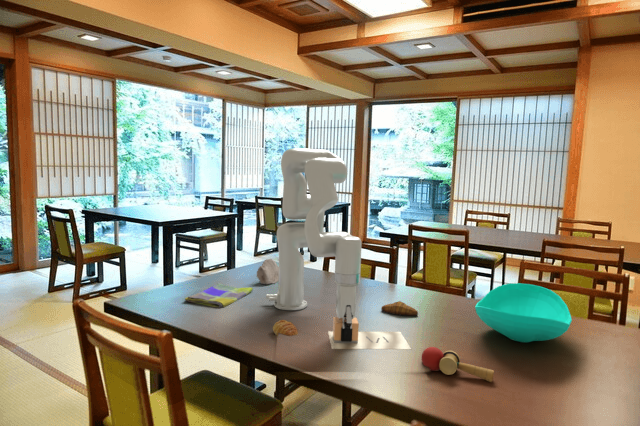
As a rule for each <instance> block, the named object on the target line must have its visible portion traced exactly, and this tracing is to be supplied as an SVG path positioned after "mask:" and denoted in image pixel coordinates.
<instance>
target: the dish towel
mask: <svg viewBox="0 0 640 426" xmlns="http://www.w3.org/2000/svg"><path fill="white" fill-rule="evenodd" d="M252 291H253V287H249V286H248V287H234V286H230V285H226V284H222V283H220V282H219V283H216V284H214V285H212V286H210V287H208V288H207V289H204V290H202V291H200V292H197V293H195V294H193V295H190V296H187V297H185V298H184V301H186V302H188V303H193V304H198V305H203V306H207V307H208V306H209V307H213V308H218V309H220V308H221V309H222V308H225V307H227V306H229V305H232V304H233V303H236V302H238V301H240V300H241V299H243V298H244V297H246V296H248V295H249V294H250V293H251V292H252Z"/></svg>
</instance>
